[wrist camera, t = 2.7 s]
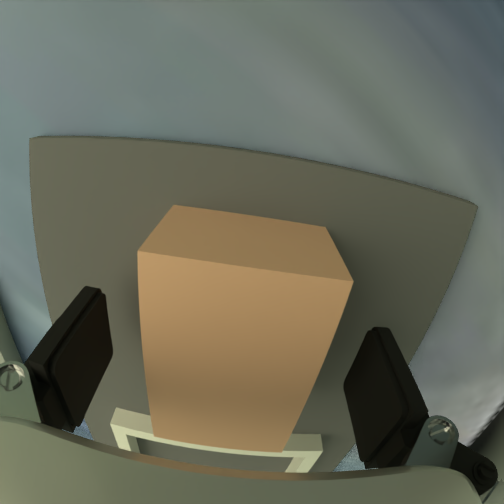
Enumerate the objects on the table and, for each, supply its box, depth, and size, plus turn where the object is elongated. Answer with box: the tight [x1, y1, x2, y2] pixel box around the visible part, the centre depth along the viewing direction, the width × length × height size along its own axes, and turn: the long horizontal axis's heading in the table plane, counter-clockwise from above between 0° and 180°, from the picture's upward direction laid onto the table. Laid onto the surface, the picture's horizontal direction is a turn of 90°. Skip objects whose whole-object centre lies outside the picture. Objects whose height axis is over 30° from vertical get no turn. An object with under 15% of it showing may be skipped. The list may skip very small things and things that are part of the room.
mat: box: [29, 136, 478, 472], centre depth 15 cm, size 24×17×1 cm
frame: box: [110, 407, 323, 473], centre depth 16 cm, size 8×12×1 cm
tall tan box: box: [137, 205, 354, 453], centre depth 10 cm, size 8×5×4 cm, turn 171°
